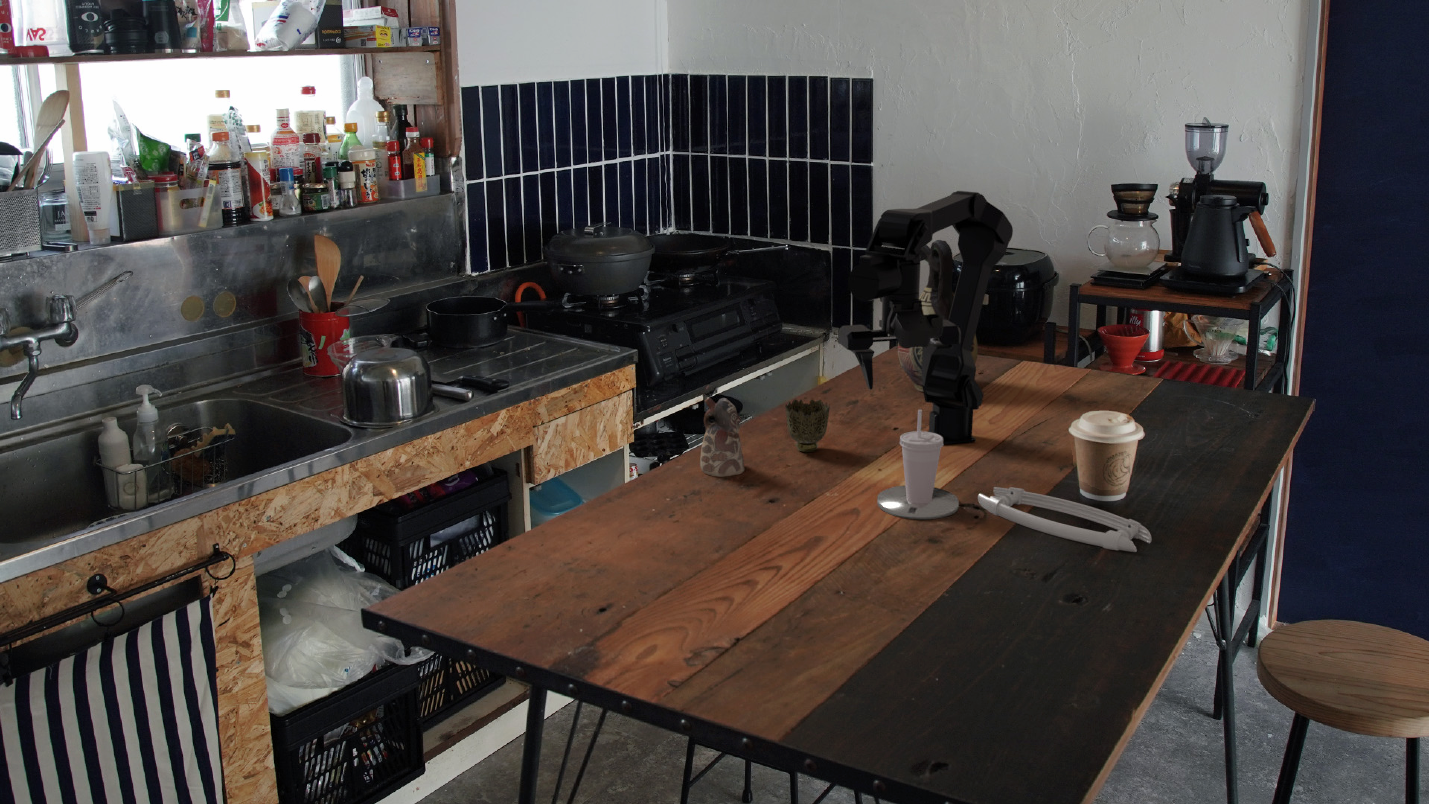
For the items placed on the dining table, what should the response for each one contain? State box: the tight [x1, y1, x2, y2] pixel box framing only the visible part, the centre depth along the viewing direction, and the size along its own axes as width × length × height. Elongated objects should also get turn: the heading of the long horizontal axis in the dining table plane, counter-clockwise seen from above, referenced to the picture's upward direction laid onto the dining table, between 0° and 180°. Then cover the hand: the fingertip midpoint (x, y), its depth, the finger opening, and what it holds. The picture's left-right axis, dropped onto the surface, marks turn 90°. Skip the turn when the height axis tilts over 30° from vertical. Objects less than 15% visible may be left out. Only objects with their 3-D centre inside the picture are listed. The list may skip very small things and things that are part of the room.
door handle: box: [977, 486, 1152, 553], centre depth 177 cm, size 3×10×25 cm
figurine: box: [699, 397, 746, 478], centre depth 199 cm, size 7×7×12 cm
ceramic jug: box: [897, 239, 979, 393], centre depth 239 cm, size 17×15×30 cm
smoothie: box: [899, 409, 945, 504], centre depth 183 cm, size 6×6×14 cm
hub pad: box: [876, 485, 960, 521], centre depth 185 cm, size 12×12×1 cm
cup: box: [784, 398, 831, 453], centre depth 208 cm, size 8×7×8 cm
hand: (897, 387), depth 199 cm, fingers open, 9 cm apart
